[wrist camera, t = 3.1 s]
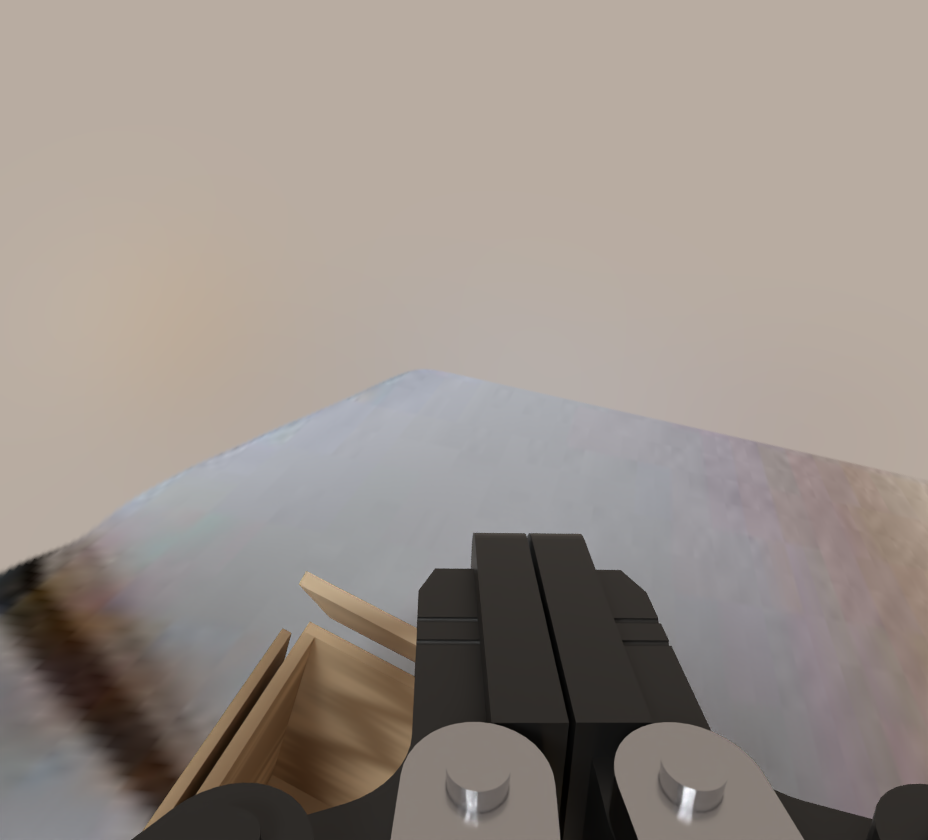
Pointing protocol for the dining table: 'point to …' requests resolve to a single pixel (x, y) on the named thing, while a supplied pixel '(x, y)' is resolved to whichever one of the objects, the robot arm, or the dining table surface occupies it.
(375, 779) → the light wooden open box
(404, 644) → the front flap
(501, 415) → the dining table surface
